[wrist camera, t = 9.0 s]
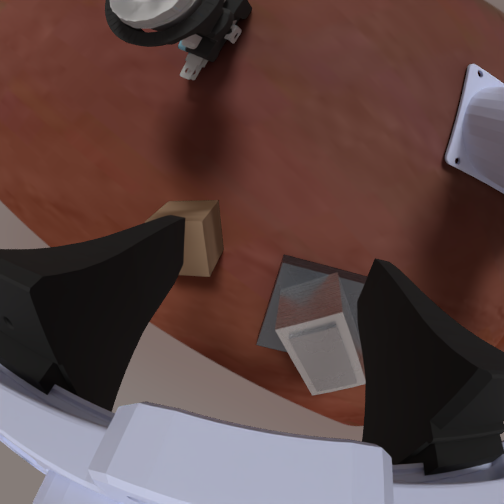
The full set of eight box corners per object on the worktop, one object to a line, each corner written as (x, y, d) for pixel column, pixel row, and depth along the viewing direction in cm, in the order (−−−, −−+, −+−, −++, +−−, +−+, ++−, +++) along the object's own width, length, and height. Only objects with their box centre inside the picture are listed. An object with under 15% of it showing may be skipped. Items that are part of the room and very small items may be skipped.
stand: (399, 285, 22) (403, 293, 21) (356, 357, 27) (358, 366, 26) (283, 254, 23) (282, 262, 22) (258, 335, 27) (256, 344, 26)
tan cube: (218, 199, 21) (201, 221, 18) (223, 248, 23) (209, 276, 20) (169, 201, 22) (145, 221, 19) (176, 247, 24) (156, 273, 21)
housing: (361, 343, 24) (366, 386, 20) (313, 355, 26) (312, 398, 22) (337, 272, 21) (343, 315, 17) (280, 289, 23) (274, 332, 19)
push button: (225, 94, 18) (155, 93, 9) (160, 65, 17) (61, 56, 8) (274, 13, 14) (247, -56, 6) (205, -13, 14) (133, -73, 5)
